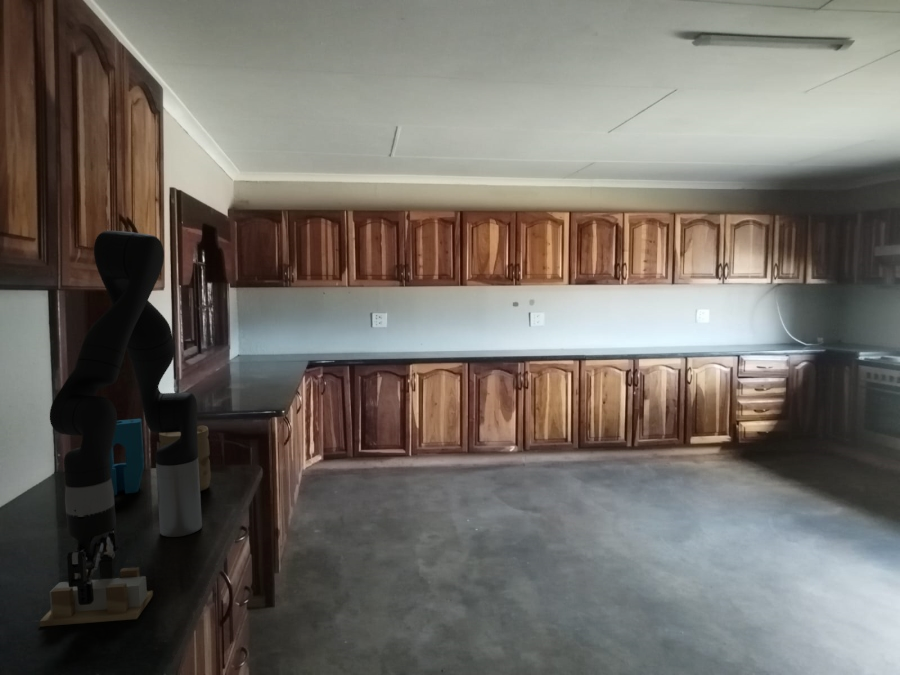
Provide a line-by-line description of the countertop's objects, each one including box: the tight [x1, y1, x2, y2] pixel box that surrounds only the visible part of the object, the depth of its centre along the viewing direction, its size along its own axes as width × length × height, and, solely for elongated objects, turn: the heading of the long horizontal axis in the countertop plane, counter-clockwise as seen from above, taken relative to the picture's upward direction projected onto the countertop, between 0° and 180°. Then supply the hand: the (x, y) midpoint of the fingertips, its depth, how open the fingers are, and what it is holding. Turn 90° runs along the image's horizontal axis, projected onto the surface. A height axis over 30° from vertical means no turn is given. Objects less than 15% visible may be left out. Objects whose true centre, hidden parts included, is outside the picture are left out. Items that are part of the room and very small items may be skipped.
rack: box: [39, 566, 154, 627], centre depth 111 cm, size 8×16×6 cm, turn 97°
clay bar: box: [48, 575, 148, 614], centre depth 111 cm, size 4×15×4 cm, turn 97°
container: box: [158, 425, 212, 492], centre depth 170 cm, size 13×13×18 cm
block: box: [109, 418, 145, 496], centre depth 171 cm, size 12×5×20 cm, turn 113°
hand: (97, 591), depth 111 cm, fingers open, 8 cm apart
